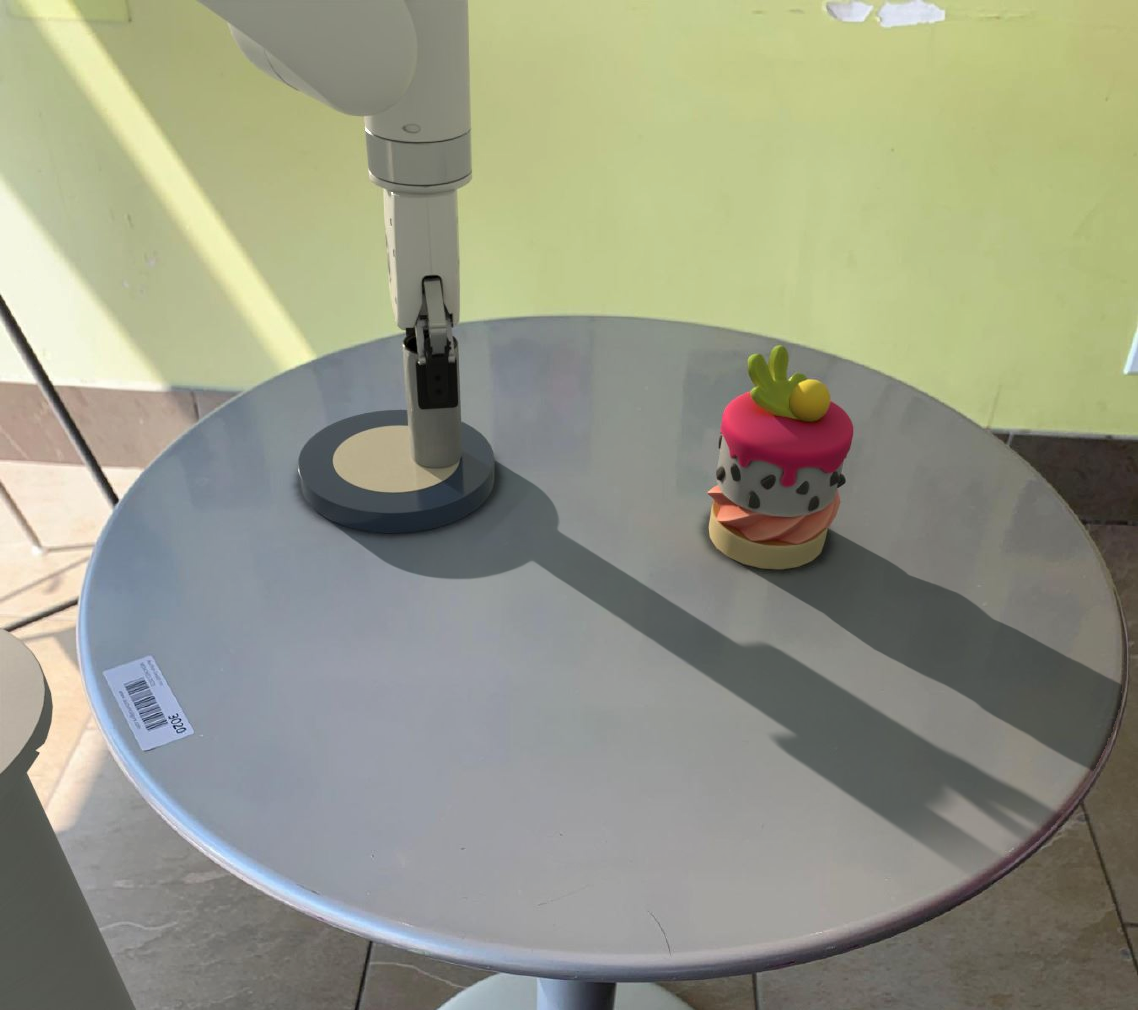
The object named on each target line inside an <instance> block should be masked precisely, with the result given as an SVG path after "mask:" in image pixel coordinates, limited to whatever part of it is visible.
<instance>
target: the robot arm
mask: <svg viewBox="0 0 1138 1010" xmlns="http://www.w3.org/2000/svg"><path fill="white" fill-rule="evenodd" d="M195 1H196V2H198V3H199V4H201V5H202V6H204V7H205V8H207V9H208V10H210V11H211V12H212V13H214V14H216V16H218V17H220V18H221V19H223V20H224V21H226V23H227V26H228V29H229V32H230V34H231V37H232V38H233V41H234V43H235V44H236V47H238V49H239V51H240V52H241V53H242V55H243V56H244V57H245V58H246V59H247V60H248V61H249V62H250V63H251V64H252V65H253V66H254V67H256V68H257V69H258V70H260V71H261V72H262V73H264V74H266V75H267V76H269V77H271V78H272V79H274V80H277V81H278V82H281V83H282V84H284V85H286V86H288V87H290V88H291V89H293V90H295V91H298V92H300V93H303V94H305V95H306V96H308V97H310V98H311V99H314V100H316V101H318V102H320V103H322V104H323V105H325V106H327V107H328V108H330V109H333V110H334V111H336V112H339V113H342V114H344V115H347V116H351V117H353V116H354V117H363V121H364V123H363V124H364V136H365V146H366V147H365V148H366V156H367V157H366V160H367V169H368V179H369V181H370V182H371V183H373V184H375V186H377V187H380V188H382V191H383V193H382V195H383V196H382V197H383V217H384V218H383V219H384V231H385V244H386V246H385V247H386V258H387V259H386V260H387V274H388V275H387V276H388V278H387V279H388V289H389V297H390V302H391V307H392V312H393V318H394V323H395V325H396V326H397V327H398V329H400V330H402V331H405V337H406V336H408V335H409V334H412V333H414V332H416V341H417V350H418V359H415V370H416V385H417V400H418V406H419V408H420V409H422V410H425V409H442V408H455V407H457V406H458V380H457V359H456V357H455V354H454V344H453V336H454V335H453V329H454V328H455V327H456V326H457V325H458V324H459V323H460V315H461V271H460V270H461V269H460V268H461V267H460V261H461V260H460V230H459V229H460V227H459V207H458V206H459V205H458V189H461V188H463V187H465V186H466V185H468V184H469V183H470V182H471V180H472V179H473V149H472V144H473V143H472V127H471V126H472V115H471V111H472V110H471V79H470V78H471V73H470V71H471V70H470V67H471V66H470V27H469V26H470V25H469V23H470V22H469V0H195ZM424 331H429V338H426V340H425V343H424V335H423V332H424Z"/></svg>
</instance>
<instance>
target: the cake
mask: <svg viewBox="0 0 1138 1010" xmlns="http://www.w3.org/2000/svg"><path fill="white" fill-rule="evenodd" d="M789 357H790V356H789V353H788V349H787V348H786V347H785V346H784V345H781V344H779V345H775V346H774V347H773V348H772V349H771V351H770V354H769V357H768V362H767V361H766V359H765V357H764V355H762V354H761V353H753V354H751V355H750V356H749V357H748V359H747V362H746V363H747V372H748V376H749V378H750V380H751V382H752V384H753V385H754V386H755V387H753V388H751V390H750V391H747V392H744V393H741V394H740V395H739V396H736V397H734V399H733V400H731V401H730V402H729V403H728V404H727V405H726V407H725V408H724V410H723V413H722V417H721V423H720V429H719V434H721V435H720V436H719V437H718V447H717V448H718V450H719V454H718V461H717V462H718V463H717V469H716V471H715V476H716V485H715V486H714V487H712V488H711V489H710V490H708V491H707V492H706V494H707V495H708V496H709V497H711V498H712V499H713V502H712V503H711V510H710V517H709V522H708V533H709V539H710V540H711V542H712V543H713V545H714V546H715V548H716V549H717V550H718V551H719V552H721V553H722V554H723V555H724V556H726V557H727V558H730V559H731V560H733V561H735V562H738V563H740V564H743V565H745V566H750V567H753V568H758V569H763V570H764V569H765V570H785V569H793V568H799V567H801V566H804V565H806V564H808V563H810V562H813V561H814V560H815V559H816V558H817V557H818V556H819V555H820V554H821V553H822V551H823V549H824V545H825V542H826V537H827V534H828V529H829V527H830V526H831V525H832V523H833V521H834V520H835V518H836V517H837V514H838V510H839V508H840V505H841V498H840V494H839V490H838V489H839V488H841V487H843V486H844V485H845V484H846V481H847V480H846V477H845V475H844V474H843V473H842V470H843V466H844V463H845V460H846V458H847V457H848V454H849V452H850V450H851V447H852V444H853V443H852V442H853V438H854V425H853V421H852V419H851V417H850V415H848V413H847V412H846V411H845V409H843V408H842V407H841V406H840V405H839V404H837V403H835V402H834V401H832V400H831V393H830V391H829V388H828V387H827V386H826V385H825V384H824V383H823V382H821V381H819V380H818V379H809V378H808V377H807V376H806V375H805V374H804V373H802V372H795V373H793V375H791V376H790V377H789V379H788V374H787V373H788V366H789V361H790V360H789V359H790V358H789Z"/></svg>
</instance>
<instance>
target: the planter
mask: <svg viewBox="0 0 1138 1010" xmlns="http://www.w3.org/2000/svg"><path fill="white" fill-rule="evenodd" d="M423 335H424V343H425V340H426V338H429V331H424V332H423ZM453 344H454V354H455V357H456V359H457V380H458V406H457V407H455V408H442V409H425V410H422V409H420V408H419V406H418V400H417V385H416V370H415V359H418V350H417V341H416V332H414V333H412V334H409V335H408V336H406V335H405V337H404V338H403V340H402V343H401V345H402V346H401V349H402V361H403V362H402V363H403V375H404V385H405V387H404V388H405V400H406V401H405V402H406V410H407V415H408V429H409V442H410V452H411V457H412V459H413V460H414V461H415V462H416V463H417V464H419V465H422V466H425V467H430V468H442V467H447V466H450V465H453V464H455V463H456V462H458V461H459V460H460V458H461V457H462V429H461V421H462V408H461V407H462V406H461V402H462V401H461V380H460V379H461V378H460V377H461V376H460V353H459V341H458V339H457V338H456V336H455V335H453Z"/></svg>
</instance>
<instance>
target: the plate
mask: <svg viewBox="0 0 1138 1010" xmlns="http://www.w3.org/2000/svg"><path fill="white" fill-rule="evenodd" d="M461 429H462V457H461V458H460V460H459V461H458V462H456V463H455V464H453V465H450V466H447V467H442V468H430V467H425V466H422V465H419V464H417V463H416V462H415V461H414V460H413V459H412V457H411V452H410V442H409V429H408V415H407V409H387V410H386V409H385V410H377V411H370V412H364V413H360V414H356V415H352V416H349V417H345V418H343V419H340V420H338V421H336V422H333V423H331V424H329V425H327V426H325V427H323V428H322V429H320V430H319V431H318V432H316V433H315V434H314V435H312V436H311V437H310V438H309V439H308V440H307V442H306V443H305V444H304V445H303V447H302V449H301V450H300V452H299V456H298V459H297V469H298V475H299V482H300V489H301V492H302V495H303V498H304V499H305V500H306V502H307V504H308V505H309V506H310V507H311V508H312V509H313V510H314V511H315V512H316V513H318V514H319V515H321V516H322V517H323V518H326V519H327V520H329V521H331V522H333V523H336V524H338V525H340V526H343V527H346V528H350V529H354V530H358V531H363V532H370V533H379V534H409V533H416V532H424V531H429V530H433V529H437V528H440V527H444V526H447V525H449V524H452V523H455V522H457V521H459V520H461V519H464V518H465V517H467V516H469V515H470V514H472V513H473V512H475V511H476V510H477V509H478V508H479V507H481V506H483V504H484V503H485V502H486V500H488V498H489V497H490V495H491V493H492V491H493V488H494V486H495V477H496V476H495V475H496V474H495V455H494V451H493V447H492V445H491V444H490V442H489V441H488V440H487V438H486V437H485V436H484V435H483V434H482V433H481V432H480V431H479V430H477V429H476V428H475V427H473V426H471V425H469V424H468V423H466V422H464V421H462V420H461Z"/></svg>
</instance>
